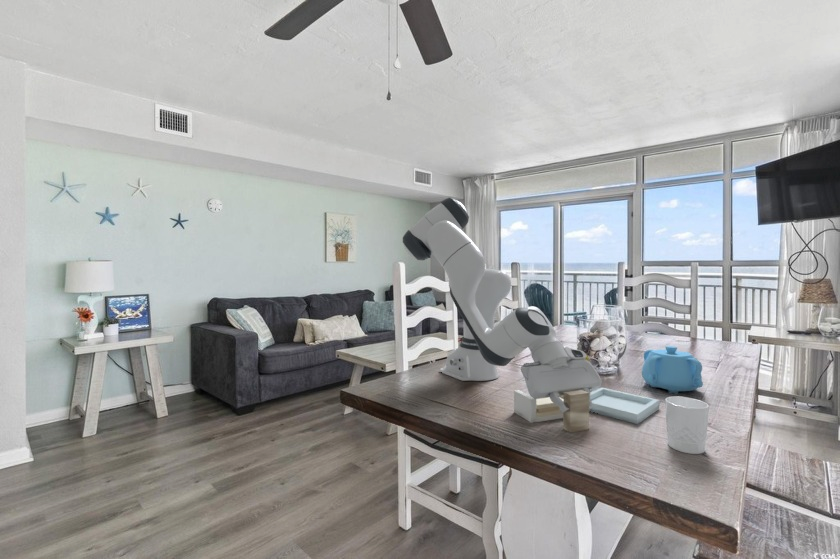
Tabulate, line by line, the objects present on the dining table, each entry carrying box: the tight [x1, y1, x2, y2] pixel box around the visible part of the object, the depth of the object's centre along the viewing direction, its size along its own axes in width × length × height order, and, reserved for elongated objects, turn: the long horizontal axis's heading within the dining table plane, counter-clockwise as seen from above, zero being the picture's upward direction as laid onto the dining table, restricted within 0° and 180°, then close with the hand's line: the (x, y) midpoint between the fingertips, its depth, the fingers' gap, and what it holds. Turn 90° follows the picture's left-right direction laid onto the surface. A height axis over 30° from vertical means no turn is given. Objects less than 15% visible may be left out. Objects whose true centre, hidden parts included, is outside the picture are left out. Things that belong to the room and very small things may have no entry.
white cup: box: [664, 395, 710, 455], centre depth 87 cm, size 8×8×10 cm
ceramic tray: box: [589, 386, 660, 425], centre depth 112 cm, size 16×16×2 cm
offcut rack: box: [513, 389, 564, 424], centre depth 108 cm, size 8×16×6 cm, turn 109°
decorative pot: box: [641, 345, 704, 394], centre depth 130 cm, size 16×16×14 cm
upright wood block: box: [562, 390, 590, 434], centre depth 98 cm, size 2×6×9 cm, turn 109°
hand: (578, 409), depth 97 cm, fingers closed on upright wood block, 5 cm apart
